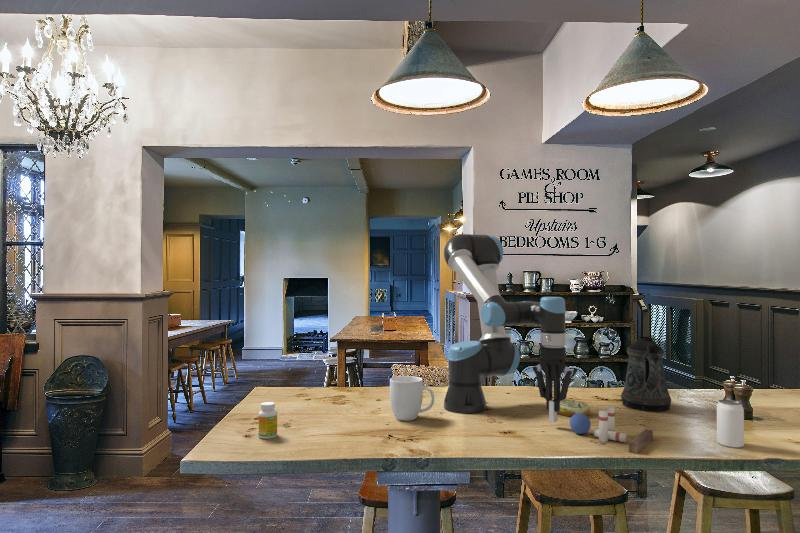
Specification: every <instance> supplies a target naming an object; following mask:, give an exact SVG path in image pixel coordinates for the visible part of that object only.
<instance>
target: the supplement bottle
mask: <svg viewBox="0 0 800 533" xmlns="http://www.w3.org/2000/svg"><path fill="white" fill-rule="evenodd" d="M275 408H276V403H275V402H274V401H265V402H262V403H260V409H261V410H260V411H259V412H258V438H260V439H265V440H267V439H274V438H276V437H277V436H278V411H277V410H276V409H275Z"/></svg>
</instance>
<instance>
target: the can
mask: <svg viewBox="0 0 800 533" xmlns="http://www.w3.org/2000/svg"><path fill="white" fill-rule="evenodd" d="M742 404H743V402H740V401H737V400H733V399H719V400H718V403H717V405H716V442H717V443H718V444H719V445H720V446H723V447H726V448H731V449H741V448H743V447H744V445H745V410H744V407H743V405H742Z"/></svg>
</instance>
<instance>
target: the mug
mask: <svg viewBox="0 0 800 533" xmlns="http://www.w3.org/2000/svg"><path fill="white" fill-rule="evenodd" d="M423 381H424V380H423V378H422V377H419V376H415V375H414V376H412V375H400V376H399V375H397V376H393V377H391V378H390V379H389V399H390V406H391V410H392V413H393V414H394V415H393V416H394V417H395V418H396V419H397V420H399V421H405V422H406V421H409V422H410V421H414V420H416V419H417V418H418V416H419V414H420V413H425V412H426V411H429V410H430V409H432V408H433V406H434V403H435V394H434V392H433V390H432V389H431V388H430V387H429V386H425V385H423V384H424V382H423ZM424 390H426V391H428V392H429V393H430V395H431V401H430V404H429V405H428V406H427V407H425V408H422V403H423V395H424Z"/></svg>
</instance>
